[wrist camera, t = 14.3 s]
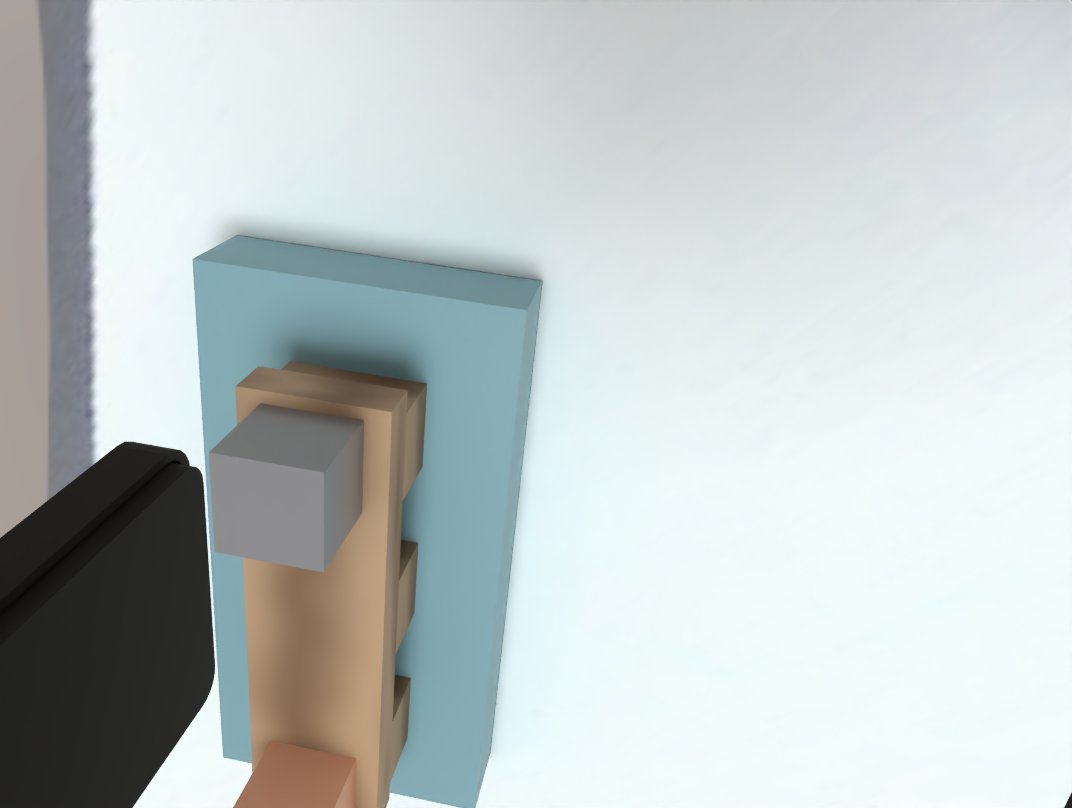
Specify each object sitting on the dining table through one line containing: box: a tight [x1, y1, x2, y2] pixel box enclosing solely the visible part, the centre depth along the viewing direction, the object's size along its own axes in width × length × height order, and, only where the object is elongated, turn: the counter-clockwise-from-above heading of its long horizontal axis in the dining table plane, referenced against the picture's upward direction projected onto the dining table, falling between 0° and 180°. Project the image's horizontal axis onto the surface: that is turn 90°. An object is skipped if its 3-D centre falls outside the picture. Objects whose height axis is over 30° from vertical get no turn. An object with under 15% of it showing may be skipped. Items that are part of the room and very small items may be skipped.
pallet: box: [235, 361, 427, 808], centre depth 40 cm, size 6×22×5 cm, turn 174°
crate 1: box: [209, 403, 364, 572], centre depth 33 cm, size 4×4×4 cm
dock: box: [193, 235, 542, 808], centre depth 44 cm, size 14×28×4 cm, turn 174°
